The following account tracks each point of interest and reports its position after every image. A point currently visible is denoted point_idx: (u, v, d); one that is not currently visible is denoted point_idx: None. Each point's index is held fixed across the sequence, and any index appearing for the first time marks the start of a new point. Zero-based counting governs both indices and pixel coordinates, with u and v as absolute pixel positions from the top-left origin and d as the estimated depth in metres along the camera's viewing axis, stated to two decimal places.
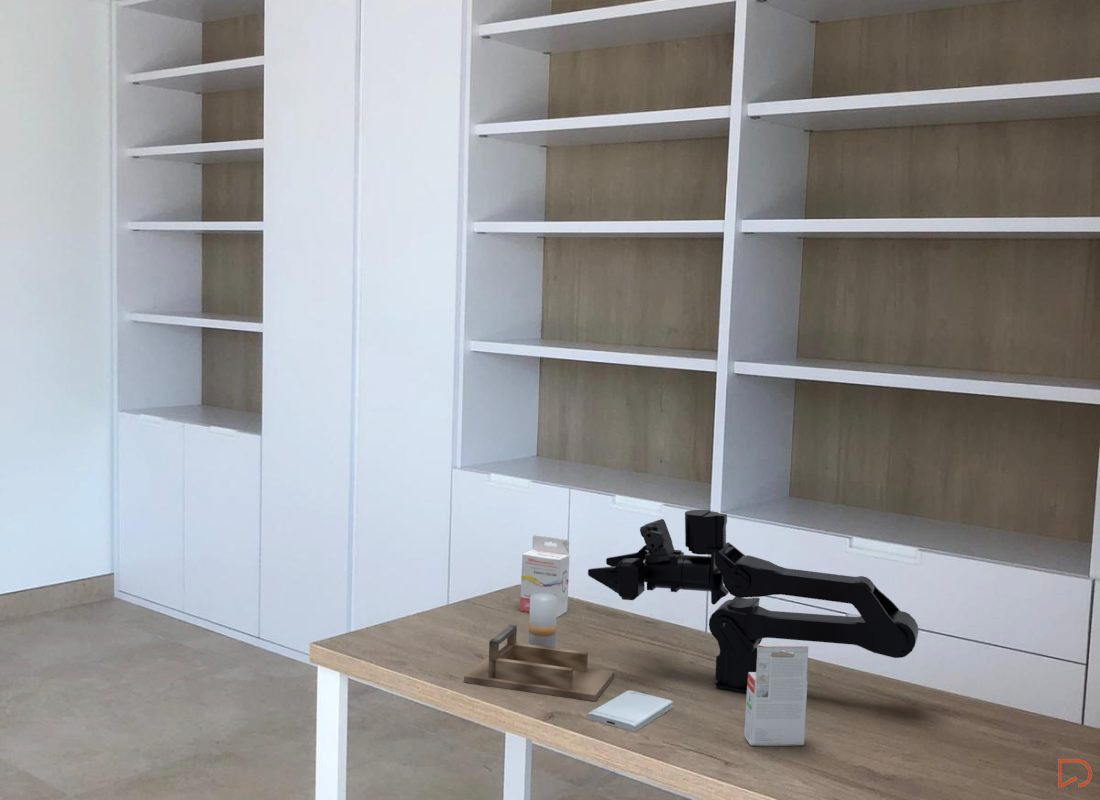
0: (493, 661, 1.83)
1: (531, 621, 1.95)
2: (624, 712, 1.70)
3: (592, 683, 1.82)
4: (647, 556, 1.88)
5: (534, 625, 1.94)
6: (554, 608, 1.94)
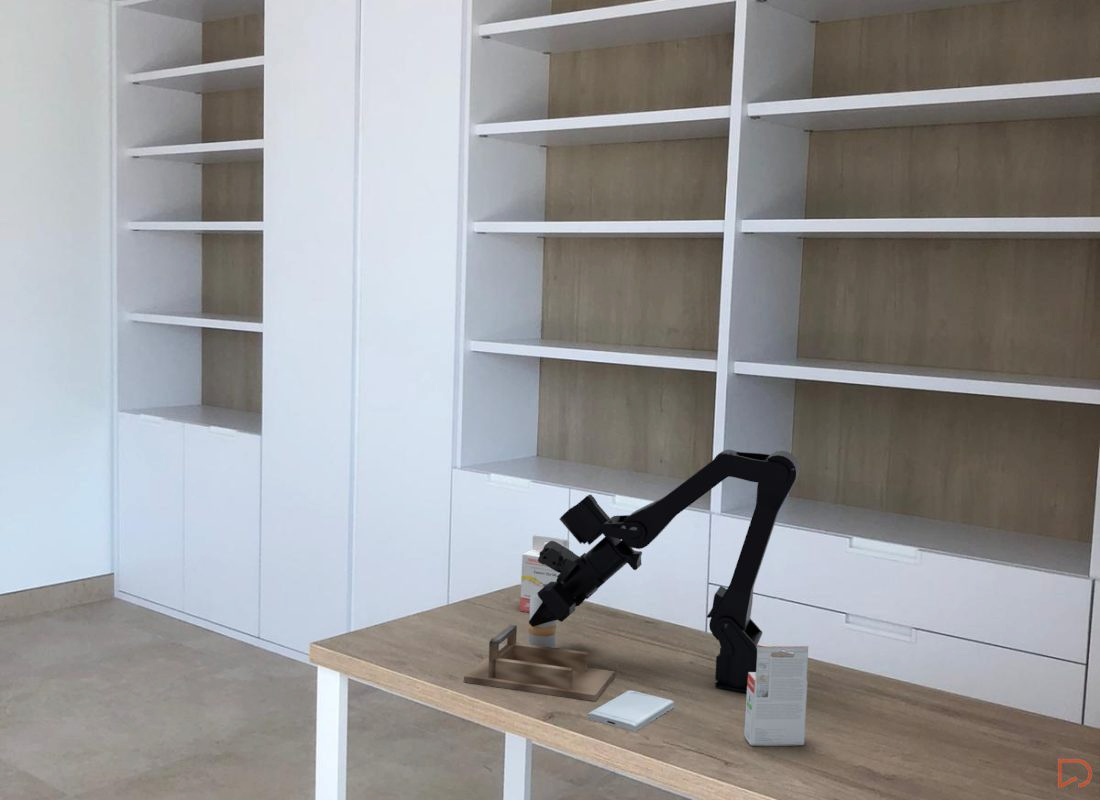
0: (493, 661, 1.83)
1: None
2: (624, 712, 1.70)
3: (592, 683, 1.82)
4: (559, 576, 1.91)
5: None
6: None
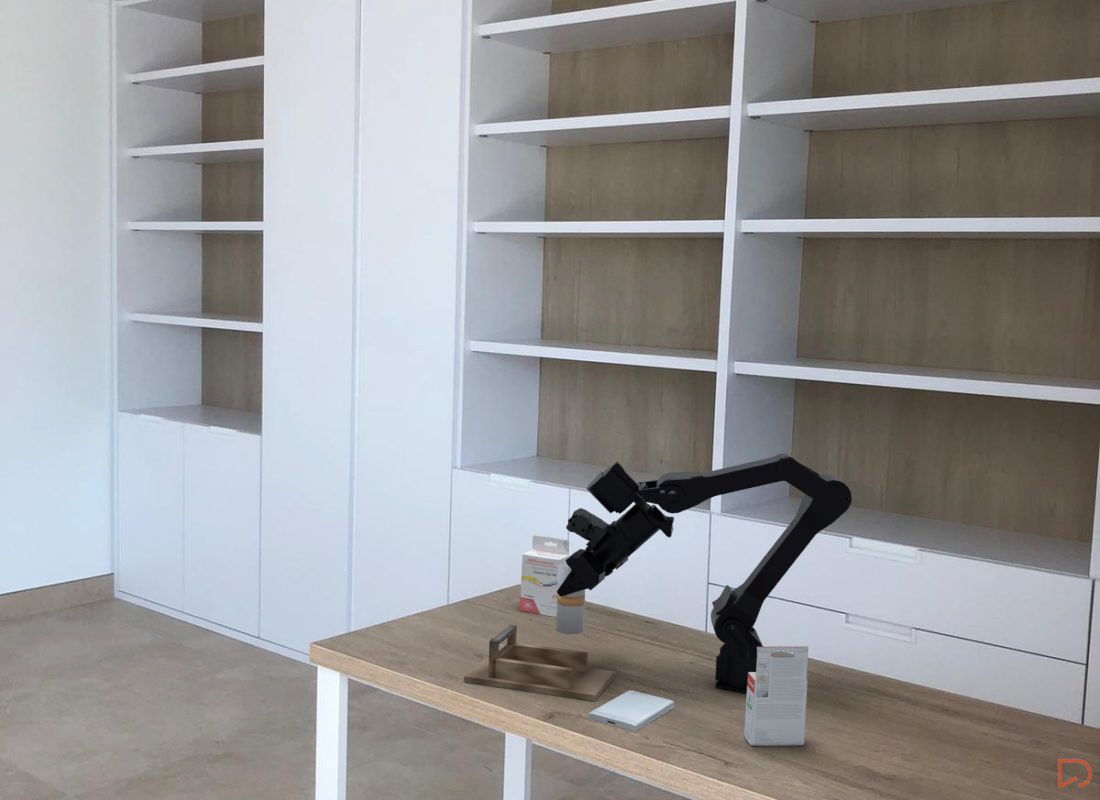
0: (493, 661, 1.83)
1: None
2: (624, 711, 1.70)
3: (592, 683, 1.82)
4: (588, 543, 1.85)
5: None
6: None
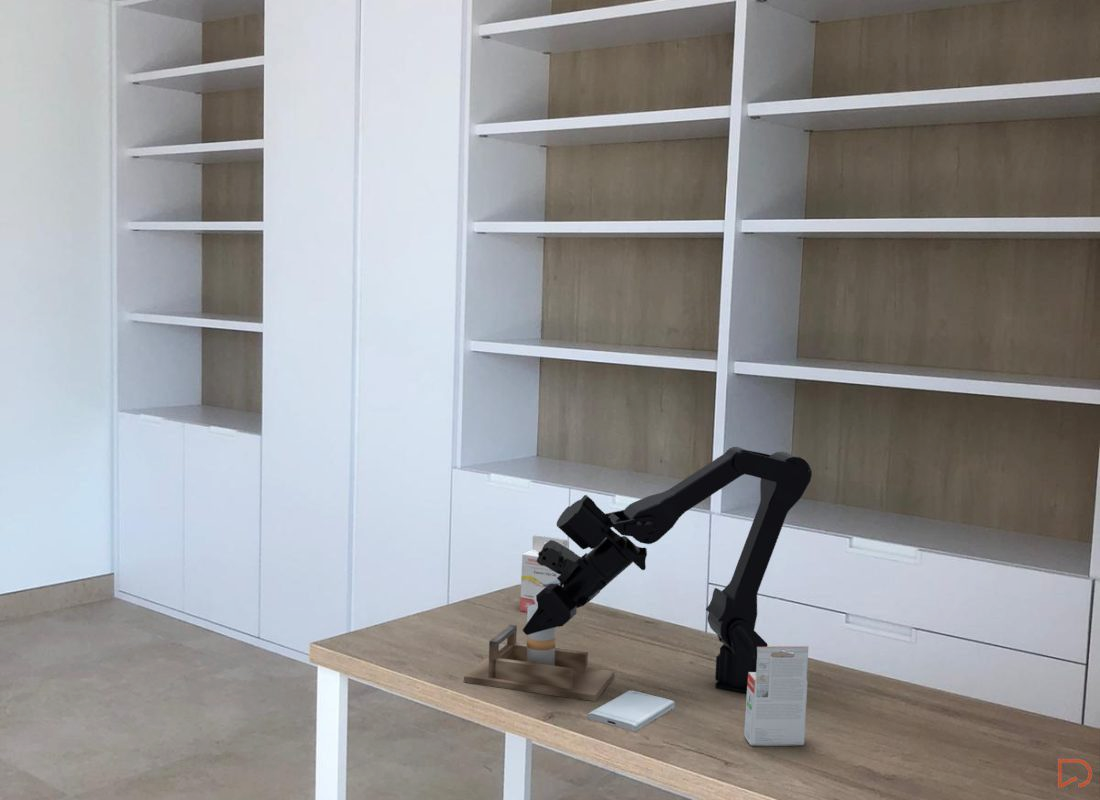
0: (493, 661, 1.83)
1: (529, 634, 1.84)
2: (625, 711, 1.70)
3: (592, 683, 1.82)
4: (559, 577, 1.80)
5: (532, 638, 1.83)
6: None
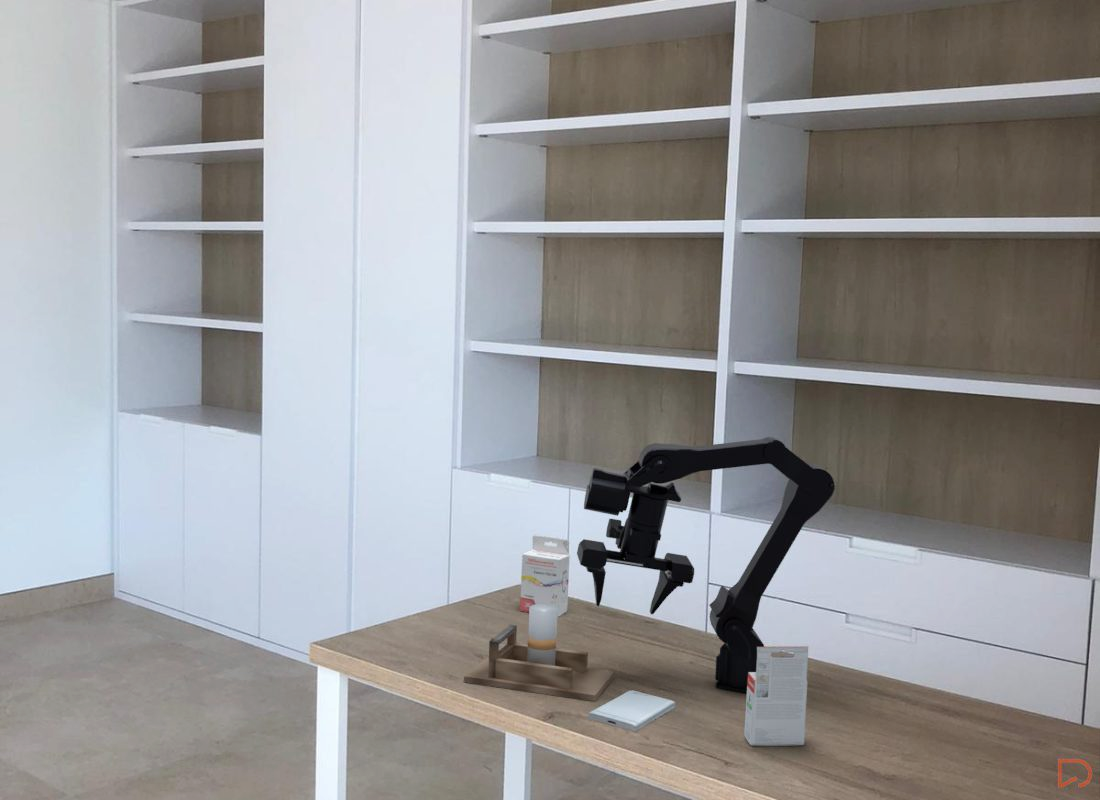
0: (493, 661, 1.83)
1: (530, 634, 1.84)
2: (625, 711, 1.70)
3: (592, 683, 1.82)
4: (617, 544, 1.87)
5: (534, 638, 1.83)
6: (554, 620, 1.84)
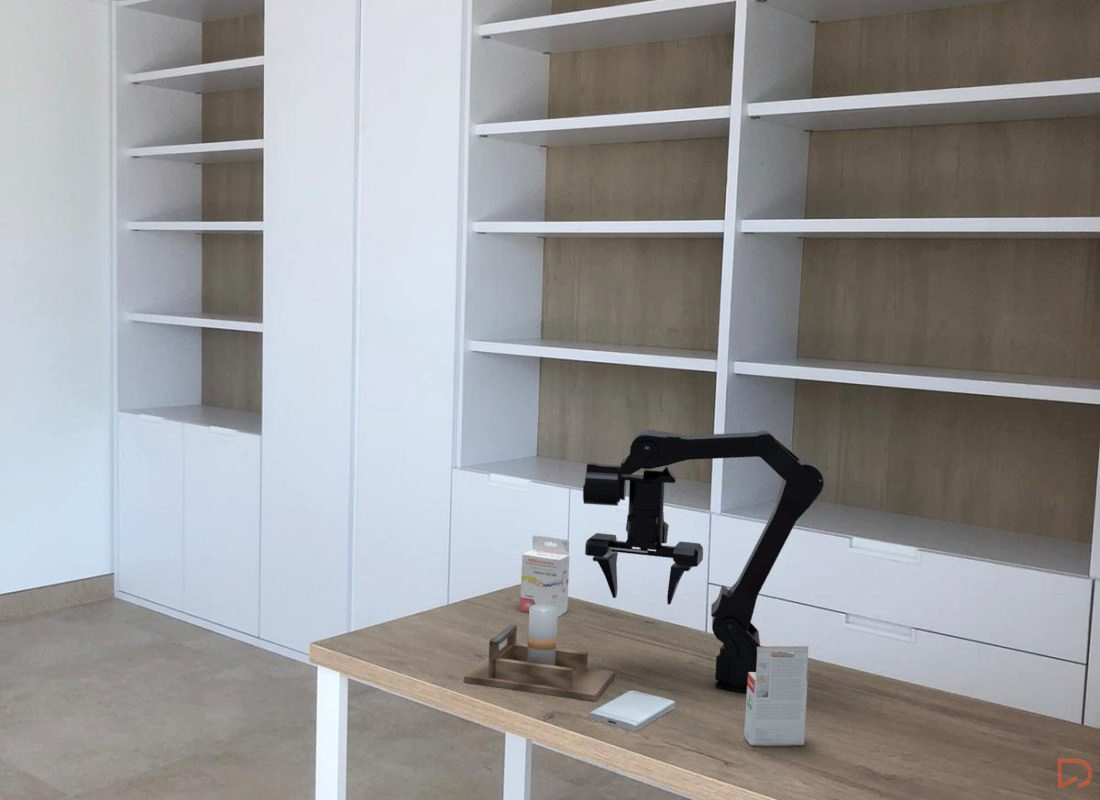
0: (493, 661, 1.83)
1: (530, 634, 1.84)
2: (625, 711, 1.70)
3: (592, 683, 1.82)
4: None
5: (534, 638, 1.83)
6: (554, 620, 1.84)
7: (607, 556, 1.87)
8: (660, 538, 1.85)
